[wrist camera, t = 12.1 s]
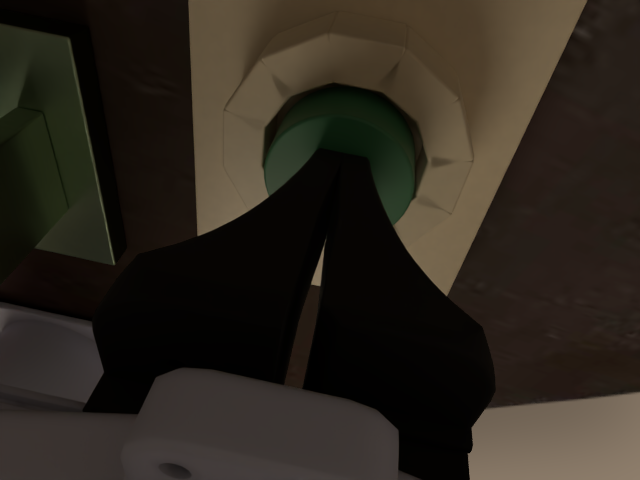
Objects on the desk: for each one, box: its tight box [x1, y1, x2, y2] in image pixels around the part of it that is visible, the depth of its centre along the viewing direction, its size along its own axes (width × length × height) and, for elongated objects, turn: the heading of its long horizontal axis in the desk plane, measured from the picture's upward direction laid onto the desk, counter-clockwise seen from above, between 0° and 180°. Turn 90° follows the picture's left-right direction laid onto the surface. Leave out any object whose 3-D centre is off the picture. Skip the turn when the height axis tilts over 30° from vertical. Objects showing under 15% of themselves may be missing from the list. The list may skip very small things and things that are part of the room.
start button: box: [264, 86, 415, 225], centre depth 13 cm, size 4×4×2 cm
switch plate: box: [188, 0, 587, 296], centre depth 15 cm, size 12×10×4 cm
